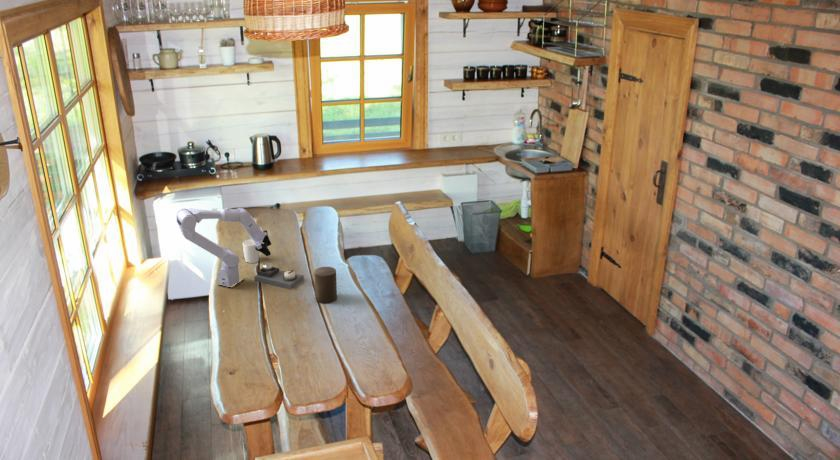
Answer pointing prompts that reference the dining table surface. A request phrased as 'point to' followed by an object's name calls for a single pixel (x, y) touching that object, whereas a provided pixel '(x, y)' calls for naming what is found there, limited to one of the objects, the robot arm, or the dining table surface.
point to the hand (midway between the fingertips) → (269, 250)
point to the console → (277, 278)
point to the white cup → (250, 251)
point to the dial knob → (289, 274)
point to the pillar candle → (325, 284)
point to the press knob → (267, 266)
